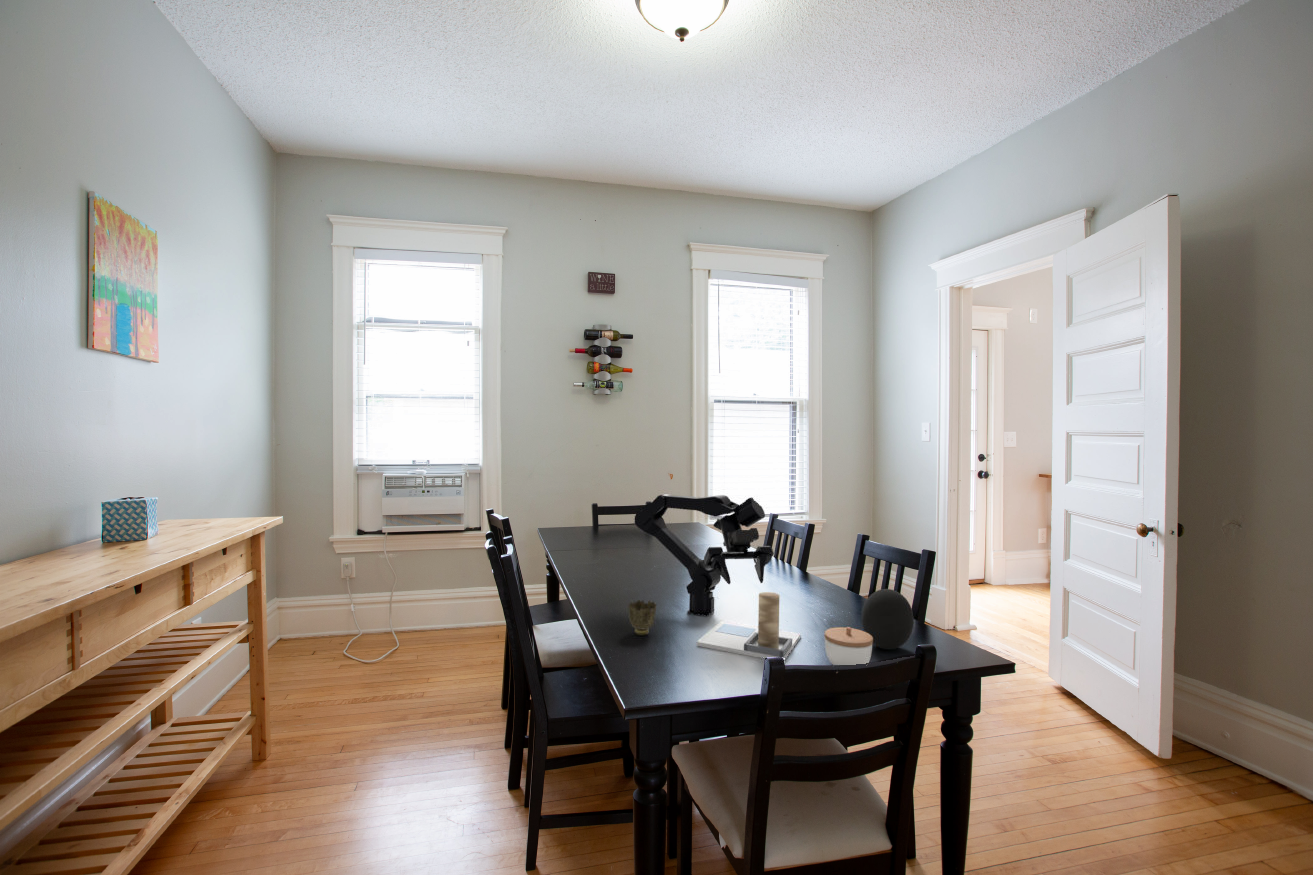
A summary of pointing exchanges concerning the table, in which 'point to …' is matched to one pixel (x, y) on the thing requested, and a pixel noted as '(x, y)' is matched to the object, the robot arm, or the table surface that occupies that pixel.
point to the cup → (642, 616)
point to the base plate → (746, 640)
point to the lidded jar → (848, 646)
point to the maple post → (768, 620)
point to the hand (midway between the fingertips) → (745, 582)
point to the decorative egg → (887, 618)
